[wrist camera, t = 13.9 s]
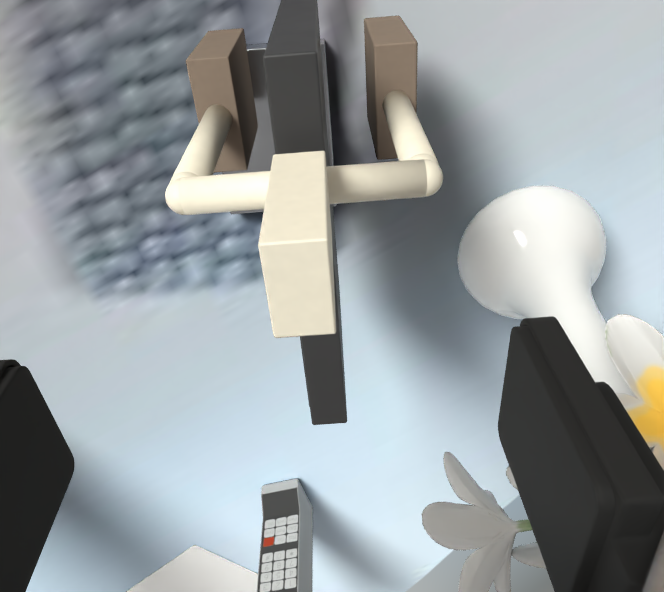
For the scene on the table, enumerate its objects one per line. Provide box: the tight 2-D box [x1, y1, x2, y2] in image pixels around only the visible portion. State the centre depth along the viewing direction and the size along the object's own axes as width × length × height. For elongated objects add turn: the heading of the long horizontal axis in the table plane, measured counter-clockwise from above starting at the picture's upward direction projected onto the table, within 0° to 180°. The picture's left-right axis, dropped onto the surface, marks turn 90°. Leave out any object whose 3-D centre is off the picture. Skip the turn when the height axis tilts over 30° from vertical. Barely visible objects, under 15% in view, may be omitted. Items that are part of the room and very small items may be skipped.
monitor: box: [222, 0, 347, 425], centre depth 28 cm, size 7×16×17 cm, turn 4°
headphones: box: [165, 16, 443, 338], centre depth 22 cm, size 10×5×20 cm, turn 94°
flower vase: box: [422, 186, 664, 592], centre depth 30 cm, size 13×18×25 cm
